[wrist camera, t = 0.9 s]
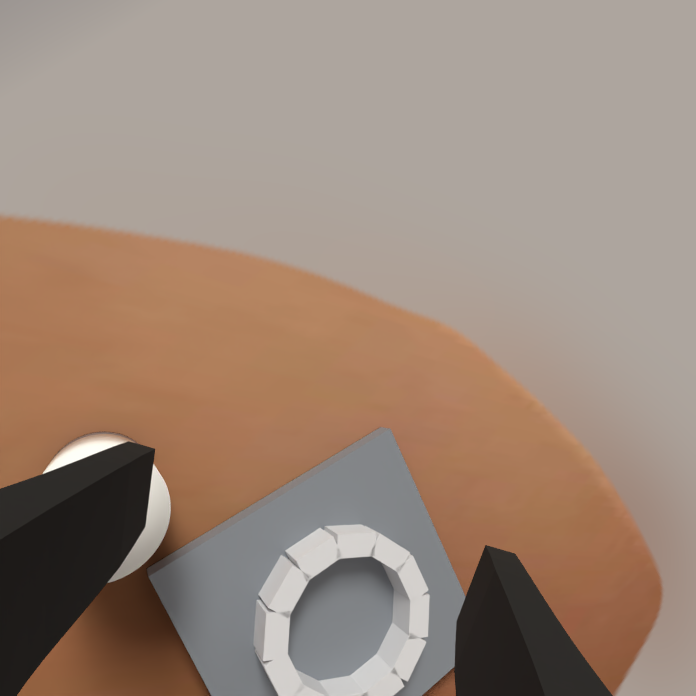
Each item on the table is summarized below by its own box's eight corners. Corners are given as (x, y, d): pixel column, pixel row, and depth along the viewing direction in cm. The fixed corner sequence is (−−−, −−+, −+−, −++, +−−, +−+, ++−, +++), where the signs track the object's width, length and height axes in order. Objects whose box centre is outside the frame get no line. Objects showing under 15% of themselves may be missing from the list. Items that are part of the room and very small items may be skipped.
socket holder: (271, 805, 23) (289, 850, 21) (146, 568, 22) (151, 590, 20) (472, 631, 28) (504, 653, 26) (380, 427, 27) (406, 431, 25)
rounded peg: (73, 554, 21) (62, 614, 16) (23, 463, 21) (-6, 492, 15) (170, 499, 23) (192, 536, 17) (127, 414, 22) (134, 423, 17)
